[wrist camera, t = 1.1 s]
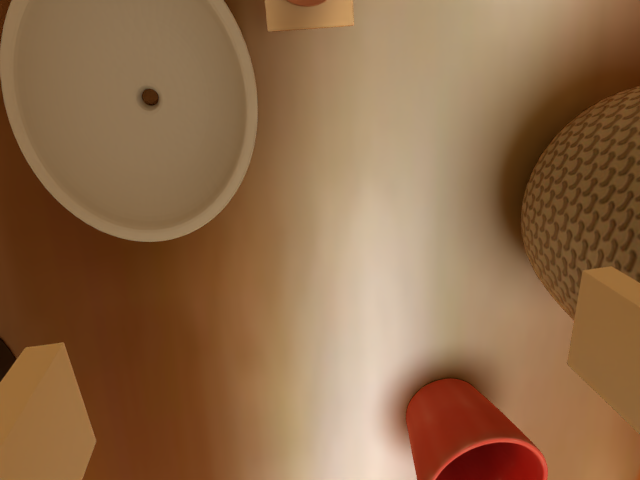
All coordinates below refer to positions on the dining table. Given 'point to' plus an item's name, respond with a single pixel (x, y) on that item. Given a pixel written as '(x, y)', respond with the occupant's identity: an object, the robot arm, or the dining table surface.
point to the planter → (586, 199)
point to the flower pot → (467, 437)
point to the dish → (131, 109)
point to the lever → (308, 14)
